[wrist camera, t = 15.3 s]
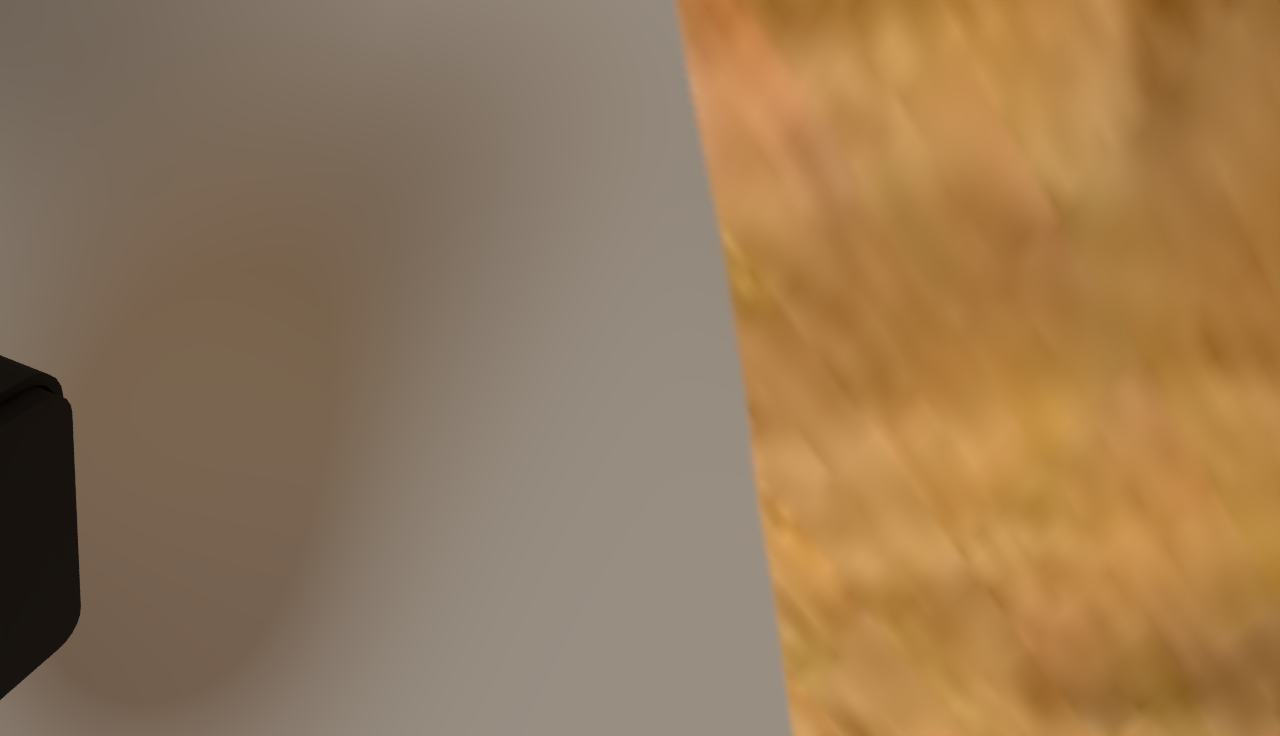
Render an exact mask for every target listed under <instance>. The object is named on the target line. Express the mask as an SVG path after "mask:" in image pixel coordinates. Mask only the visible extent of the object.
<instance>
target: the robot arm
mask: <svg viewBox="0 0 1280 736" xmlns="http://www.w3.org/2000/svg"><path fill="white" fill-rule="evenodd" d="M77 535H78V534H77V511H76V487H75V465H74V443H73V419H72V409H71V405H70V403H69V402H68V400H67V399H65V398H63V393H62V388H61V385H60V383H59V382H58V381H57V379H56V378H55V377H52V376H51V375H49V374H46V373H44V372H41V371H39V370H36V369H34V368H31V367H29V366H26V365H24V364H21V363H18V362H16V361H13V360H11V359H8V358H6V357H3V356H1V355H0V700H1V699H2V698H3V697H4V696H5V695H6V694H7V693H9V692H10V691H11V690H12V689H13V688H14V687H15V686H17V685H18V684H19V683H20V682H21V681H22V680H24V679H25V678H26V677H27V676H28V675H29V674H30V673H31V672H33V671H34V670H35V669H36V668H37V667H38V666H40V665H41V664H42V663H43V662H44V661H45V660H46V659H47V658H49V657H50V656H51V655H52V654H53V653H54V652H56V651H57V650H58V649H59V648H60V647H61V646H62V645H63V644H64V643H65V642H66V641H67V639H68V638H69V636H70V635H71V634H72V632H73V630H74V628H75V627H76V625H77V622H78V619H79V616H80V609H81V603H80V602H81V601H80V578H79V555H78V536H77Z"/></svg>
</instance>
